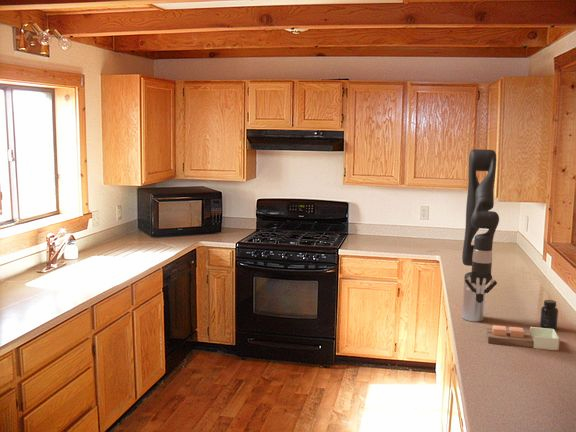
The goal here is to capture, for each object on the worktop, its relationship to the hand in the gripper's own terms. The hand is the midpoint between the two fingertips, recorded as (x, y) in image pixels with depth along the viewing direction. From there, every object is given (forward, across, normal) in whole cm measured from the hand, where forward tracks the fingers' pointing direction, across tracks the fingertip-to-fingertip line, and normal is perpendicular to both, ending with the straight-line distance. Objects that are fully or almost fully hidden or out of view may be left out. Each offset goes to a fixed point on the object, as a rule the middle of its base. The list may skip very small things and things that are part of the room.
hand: (479, 302), depth 251 cm
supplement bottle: (+15, -30, -21) cm, 40 cm away
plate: (+15, -12, 0) cm, 19 cm away
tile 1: (+12, -8, 0) cm, 15 cm away
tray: (+15, -26, 0) cm, 29 cm away
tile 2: (+12, -15, 0) cm, 19 cm away
